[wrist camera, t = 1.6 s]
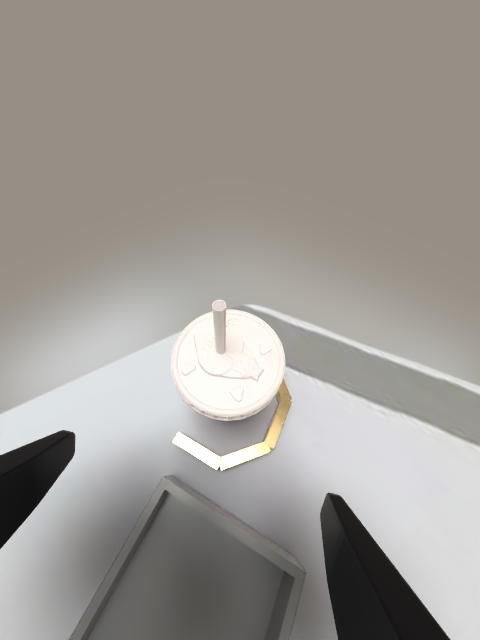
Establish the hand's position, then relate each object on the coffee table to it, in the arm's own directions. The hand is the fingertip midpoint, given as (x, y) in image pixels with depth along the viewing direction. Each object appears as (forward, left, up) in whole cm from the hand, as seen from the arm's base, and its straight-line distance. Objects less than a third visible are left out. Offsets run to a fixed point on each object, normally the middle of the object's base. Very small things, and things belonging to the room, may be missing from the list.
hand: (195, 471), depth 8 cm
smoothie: (+5, +2, -12) cm, 13 cm away
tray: (-7, -2, -12) cm, 14 cm away
